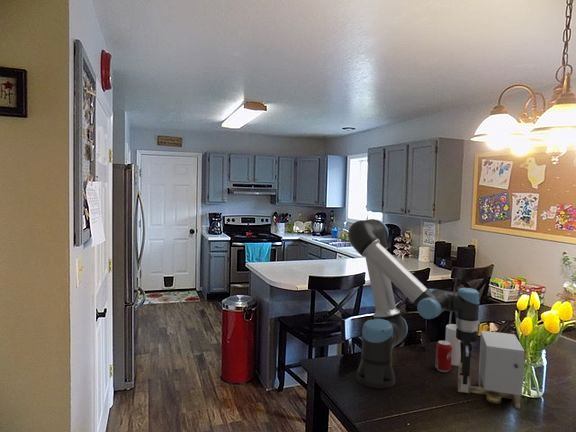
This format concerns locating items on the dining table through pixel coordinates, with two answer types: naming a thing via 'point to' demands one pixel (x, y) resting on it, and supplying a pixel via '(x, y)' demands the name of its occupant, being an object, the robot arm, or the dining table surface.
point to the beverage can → (443, 356)
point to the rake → (481, 390)
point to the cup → (453, 343)
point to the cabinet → (501, 363)
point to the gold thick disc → (493, 397)
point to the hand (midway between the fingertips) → (463, 388)
